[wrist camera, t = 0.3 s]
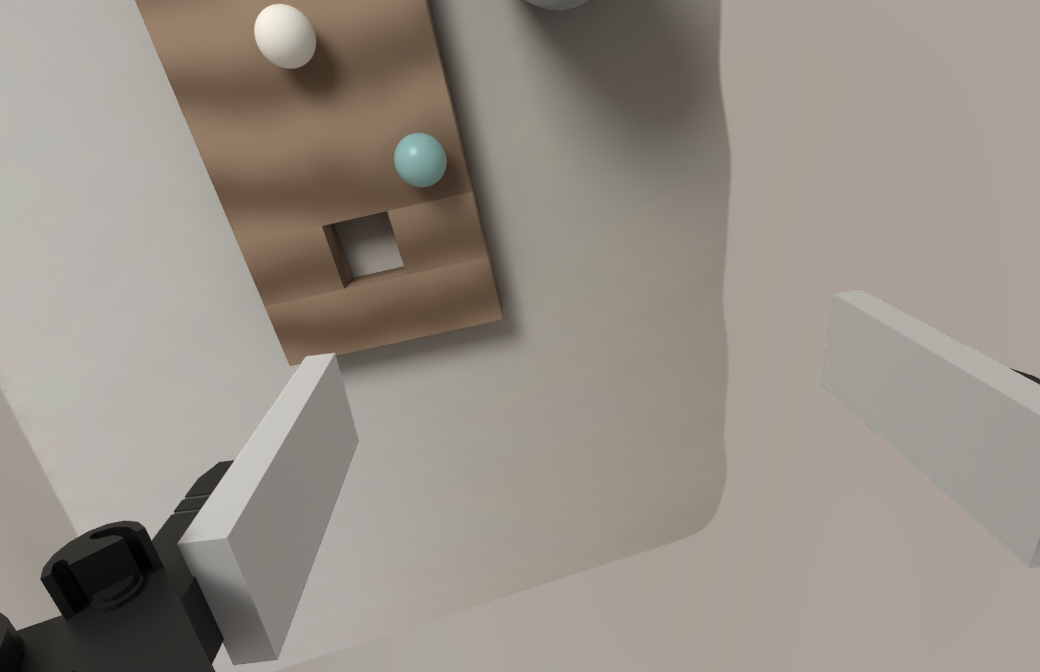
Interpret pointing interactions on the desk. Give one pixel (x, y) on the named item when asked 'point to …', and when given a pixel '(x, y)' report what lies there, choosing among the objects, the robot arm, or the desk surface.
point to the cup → (557, 4)
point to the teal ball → (420, 160)
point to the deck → (332, 166)
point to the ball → (285, 36)
